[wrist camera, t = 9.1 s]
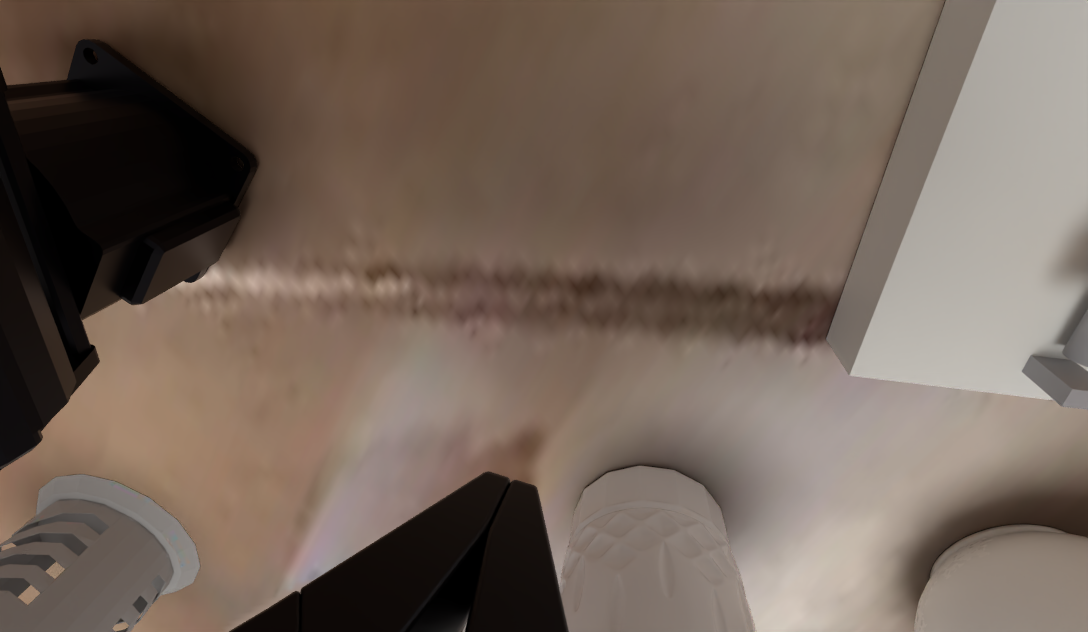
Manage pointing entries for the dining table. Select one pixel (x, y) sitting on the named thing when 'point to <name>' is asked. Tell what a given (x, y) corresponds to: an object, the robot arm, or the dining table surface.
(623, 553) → the white cup
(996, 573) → the lidded jar
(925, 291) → the switch console
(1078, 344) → the orange rocker
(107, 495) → the french press
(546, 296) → the dining table surface
